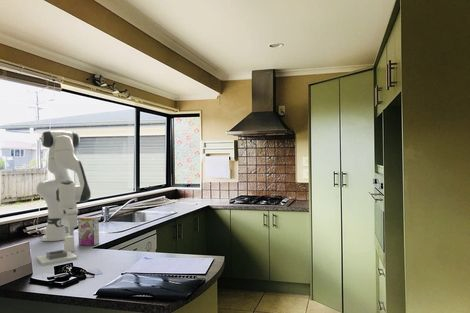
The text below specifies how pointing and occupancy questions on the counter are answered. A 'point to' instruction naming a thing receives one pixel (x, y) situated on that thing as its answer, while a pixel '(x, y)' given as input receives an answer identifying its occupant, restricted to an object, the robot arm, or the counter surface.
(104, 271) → the counter surface
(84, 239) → the candy bar box
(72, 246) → the charger block
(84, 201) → the robot arm
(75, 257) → the socket plate
